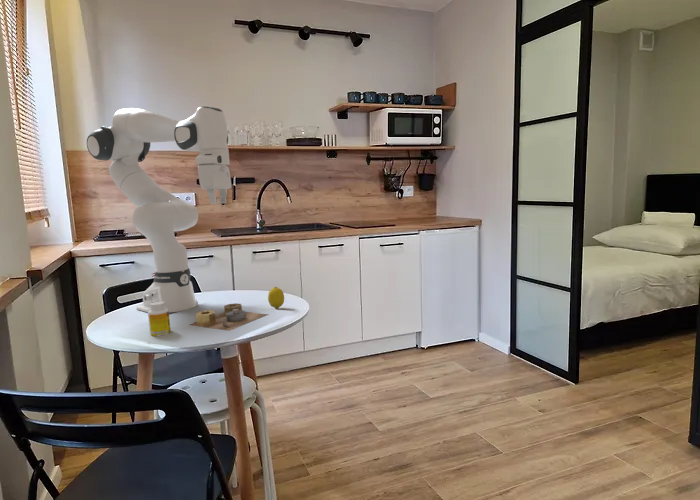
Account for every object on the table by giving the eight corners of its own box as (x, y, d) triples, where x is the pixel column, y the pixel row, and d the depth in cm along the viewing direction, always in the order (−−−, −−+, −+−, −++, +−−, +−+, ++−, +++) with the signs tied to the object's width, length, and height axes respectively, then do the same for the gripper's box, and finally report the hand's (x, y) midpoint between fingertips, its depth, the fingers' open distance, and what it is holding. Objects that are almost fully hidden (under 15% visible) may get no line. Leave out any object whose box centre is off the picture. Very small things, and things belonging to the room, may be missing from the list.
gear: (193, 323, 142) (192, 314, 142) (206, 319, 147) (205, 310, 146) (206, 325, 139) (205, 316, 139) (219, 320, 144) (218, 311, 144)
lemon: (281, 311, 156) (280, 288, 155) (266, 311, 157) (264, 288, 156) (287, 307, 162) (285, 284, 161) (272, 307, 163) (270, 285, 162)
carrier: (188, 328, 141) (187, 315, 141) (230, 313, 157) (228, 301, 156) (229, 334, 133) (228, 320, 133) (269, 317, 149) (268, 305, 148)
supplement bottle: (172, 337, 133) (169, 303, 132) (152, 341, 131) (148, 306, 129) (169, 332, 138) (165, 299, 137) (149, 336, 135) (145, 302, 134)
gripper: (215, 162, 154) (219, 203, 155) (193, 158, 133) (197, 205, 135) (234, 161, 153) (237, 202, 155) (214, 156, 133) (218, 204, 135)
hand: (218, 203), depth 145 cm, fingers open, 8 cm apart
